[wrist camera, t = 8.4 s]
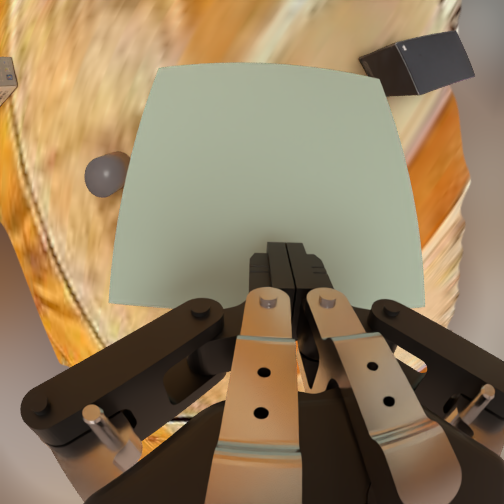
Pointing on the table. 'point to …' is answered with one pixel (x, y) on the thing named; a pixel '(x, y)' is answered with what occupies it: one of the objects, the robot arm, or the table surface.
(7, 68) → the hard drive box
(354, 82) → the lid
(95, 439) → the robot arm
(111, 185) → the dark grey cylinder
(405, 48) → the small box
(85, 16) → the table surface
